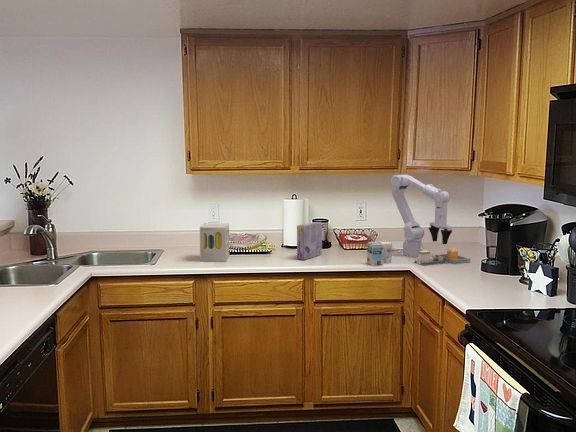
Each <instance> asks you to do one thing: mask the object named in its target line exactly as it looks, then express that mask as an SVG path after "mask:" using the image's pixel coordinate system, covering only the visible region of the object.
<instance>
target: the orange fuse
mask: <svg viewBox="0 0 576 432" xmlns="http://www.w3.org/2000/svg"><path fill="white" fill-rule="evenodd" d="M446 254H447V258H449V259H452V260H458V255H459V249H458V248H455V247H452V248H446Z"/></svg>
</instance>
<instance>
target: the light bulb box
mask: <svg viewBox="0 0 576 432" xmlns="http://www.w3.org/2000/svg"><path fill="white" fill-rule="evenodd" d="M366 249H367V254H366V263H367V264H368V265H370V266H372V267H374V266H375V267H377V266H383V265H384V264H392V258H393V257H392V254H393V253H392V252H393V243H391V242H389V241H388V240H386V241H368V242H367V248H366Z"/></svg>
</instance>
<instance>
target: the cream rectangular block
mask: <svg viewBox="0 0 576 432" xmlns="http://www.w3.org/2000/svg"><path fill="white" fill-rule="evenodd" d="M430 257H431V251H429V250H421V251H418V257H417V258H419V259H421V263H424V262H430Z"/></svg>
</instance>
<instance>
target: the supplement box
mask: <svg viewBox="0 0 576 432" xmlns="http://www.w3.org/2000/svg"><path fill="white" fill-rule="evenodd" d="M199 256H200V257H199V259H200V262H211V263H212V262H219V263H221V262H224V263H225V262H227V261H228V259H229V258H230V223H227V222H226V223H224V222H223V223H221V222H219V223H217V222H216V223H215V222H214V223H213V222H212V223H211V222H208V223H207V222H204V223H203V224H202V225H201V226H199Z"/></svg>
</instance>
